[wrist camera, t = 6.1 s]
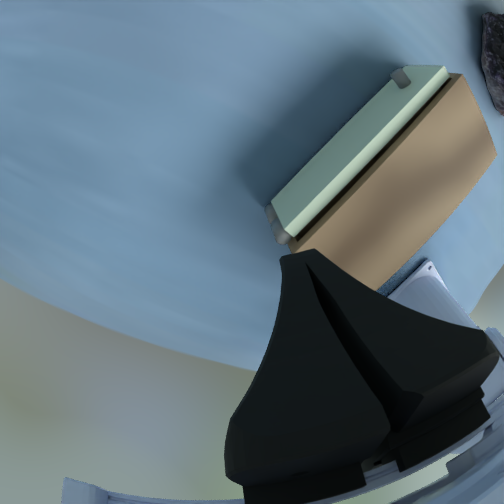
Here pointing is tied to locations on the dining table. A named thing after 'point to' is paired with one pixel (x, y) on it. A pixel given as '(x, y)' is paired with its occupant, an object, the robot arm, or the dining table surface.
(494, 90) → the crystal cluster
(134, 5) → the dining table surface
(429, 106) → the cabinet
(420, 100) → the door
